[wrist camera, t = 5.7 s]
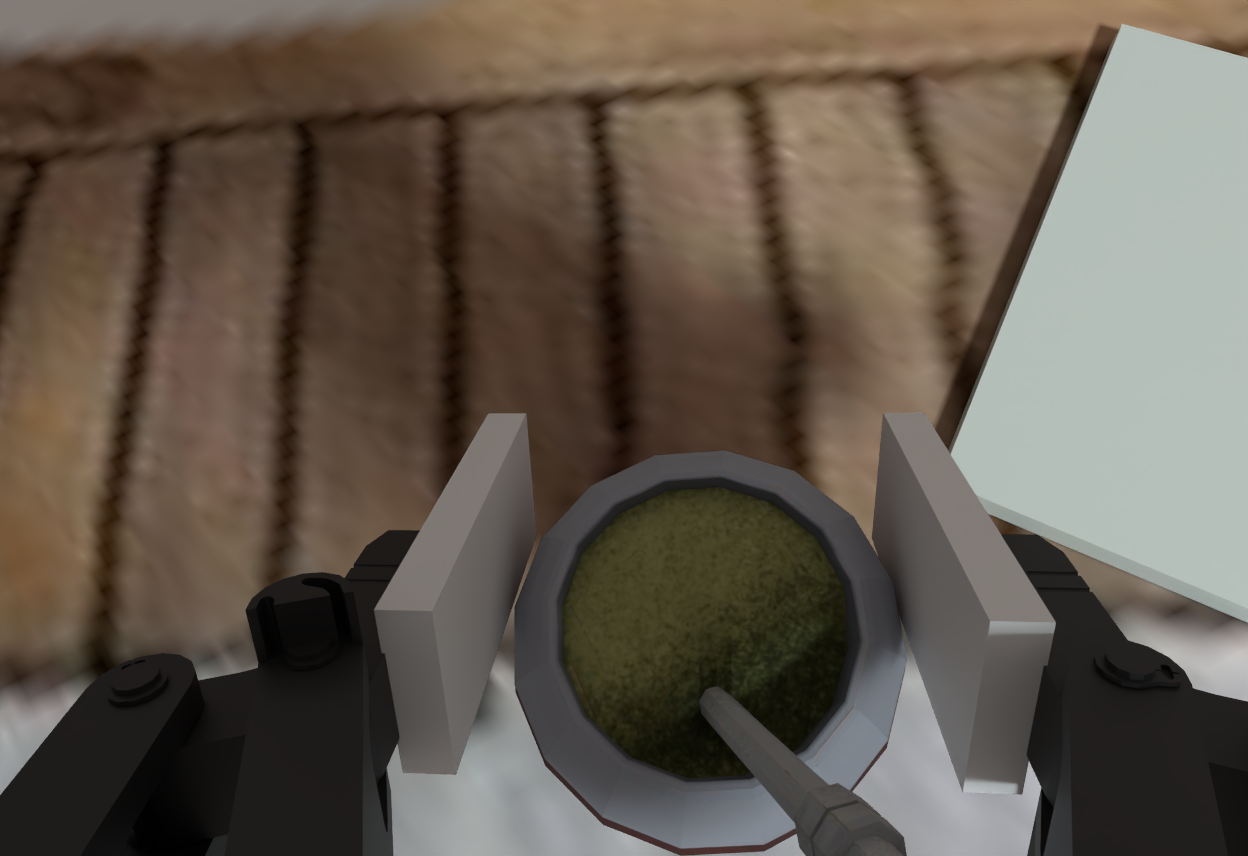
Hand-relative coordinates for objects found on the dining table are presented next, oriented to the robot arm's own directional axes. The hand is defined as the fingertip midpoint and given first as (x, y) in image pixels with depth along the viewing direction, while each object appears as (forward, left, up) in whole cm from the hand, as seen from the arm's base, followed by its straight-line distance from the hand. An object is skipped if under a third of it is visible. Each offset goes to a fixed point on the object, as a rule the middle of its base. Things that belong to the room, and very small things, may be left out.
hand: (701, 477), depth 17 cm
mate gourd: (+2, -3, -6) cm, 7 cm away
